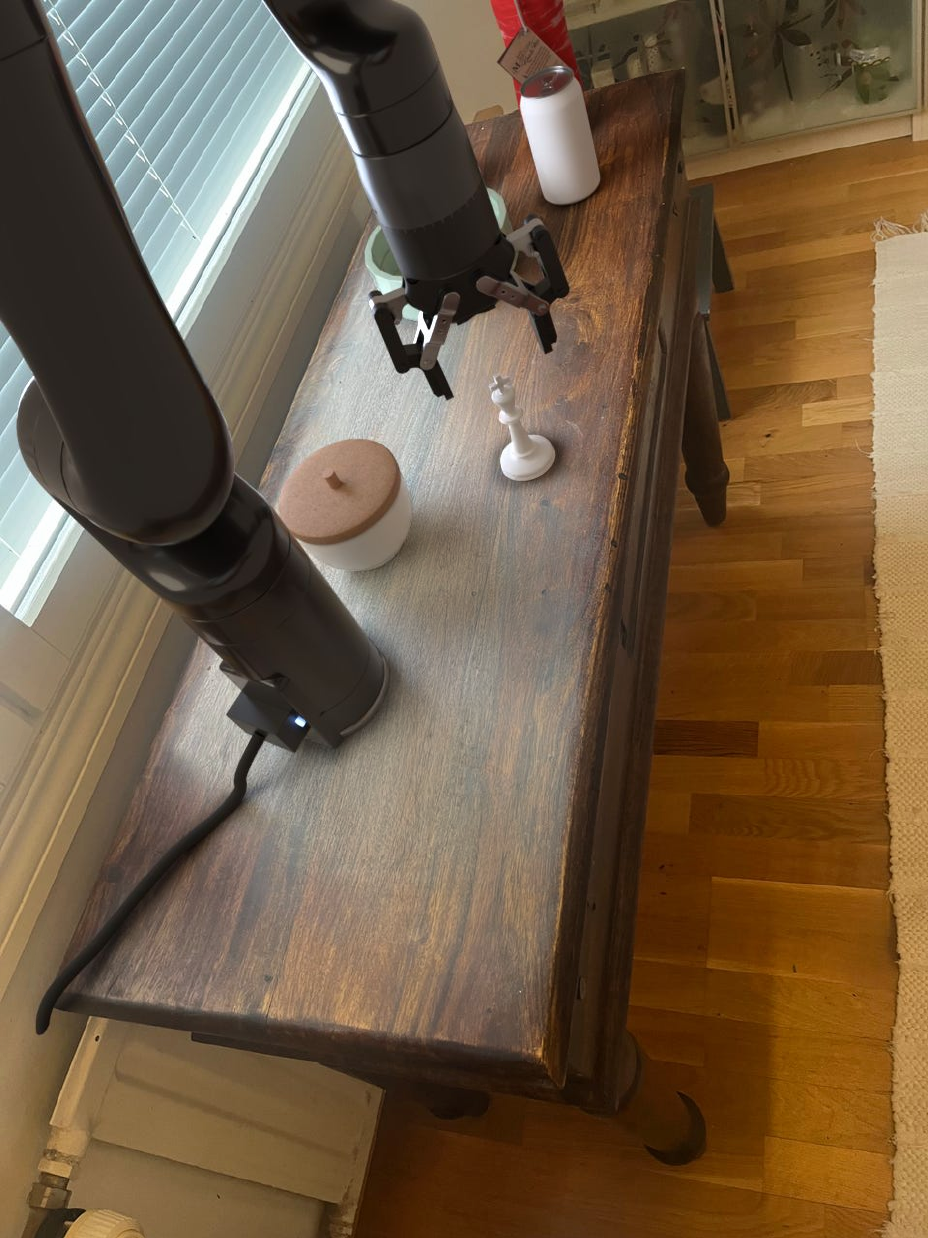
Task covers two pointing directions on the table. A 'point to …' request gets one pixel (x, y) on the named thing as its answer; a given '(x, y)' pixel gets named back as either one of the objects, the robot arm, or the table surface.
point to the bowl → (387, 268)
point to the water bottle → (533, 39)
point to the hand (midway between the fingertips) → (496, 370)
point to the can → (559, 135)
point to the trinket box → (348, 505)
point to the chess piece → (519, 437)
